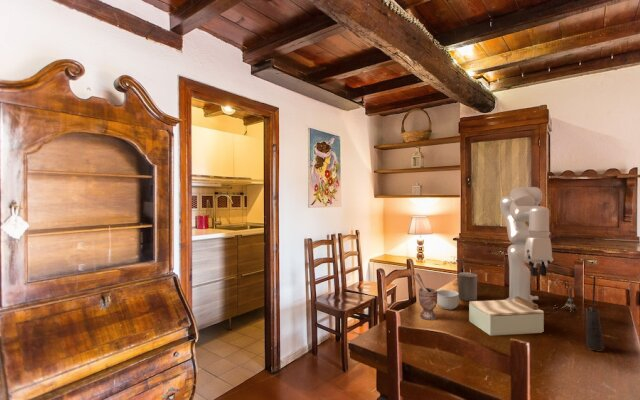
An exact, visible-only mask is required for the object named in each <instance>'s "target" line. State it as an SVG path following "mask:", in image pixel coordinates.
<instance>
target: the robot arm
mask: <svg viewBox="0 0 640 400" xmlns="http://www.w3.org/2000/svg"><path fill="white" fill-rule="evenodd" d="M542 200H543V192H542V190H541V189H540V188H539V187H537V186H522V187H521V186H519V187H514V188H513V189H511V191H510V193H509V195H505V196H503V197H501V198H500V199H499V207H500V208H499V210H500V212H501V215H502V217H503V219H504V221H505V224H506V231H507V237H508V241H509V242H510V243H512V244H511V245H509V246H508V247H507V256H508V257H507V258H508V267H509V272H508V273H509V279H508V281H509V283H508V284H509V287H508V288H509V289H508V290H509V292H508V293H509V294H508V295H509V296H508V297H507V298H505V300H514V299H515V297H521V298H523V299H525V300H528V301H530V302H532V303H534V300H535V301H537V300H539V296H538V295H531V276H532V277H538V267H537V264H540V265H539V276H543V277H547V268H548V267H549V264H550V263H552V262H554V258H553V249H552V248H553V247H552V242H551V238H550V236H551V233H552V232H551V231H550V209H549V208H548V207H546V206H543V205H539V204H540V203H541V202H542ZM525 223H528V226H526V225H525ZM526 263H527V265H528V266H529V267H530V268H528V266H527V265H526Z"/></svg>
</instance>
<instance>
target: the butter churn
mask: <svg viewBox="0 0 640 400" xmlns="http://www.w3.org/2000/svg"><path fill="white" fill-rule="evenodd" d="M592 282H593V283H592V284H593V285H592V306H589V307H588V308H586V309H585V330H586V332H585V333H586V334H585V337H586V340H585V341H586V345H587V347H589V348H591V349H595V350H603V349H604V350H605V347H604V340H603V339H604V338H603V333H602V323H601V316H600V310H597V309H595V297H596V296H595V294H596V292H595V291H596V276H594V275H593V281H592ZM587 347H586V348H587Z"/></svg>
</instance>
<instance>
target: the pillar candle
mask: <svg viewBox="0 0 640 400" xmlns="http://www.w3.org/2000/svg"><path fill="white" fill-rule="evenodd" d="M457 280H458V281H457V282H458V283H457V285H458V286H457V289H458V291H457V292H458V293H459V300H461V301H463V302H469V301H478V274H476V273H472V272H467V271H466V272H458V276H457Z"/></svg>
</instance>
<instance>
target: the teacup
mask: <svg viewBox="0 0 640 400" xmlns="http://www.w3.org/2000/svg"><path fill="white" fill-rule="evenodd" d="M459 301H460V299H459V293H458V291H455V290H453V289H452V290H451V289H443V288H442V289H440V288H439V289H438V290H437V305H438V306H439V307H440V308H442V309H444V310H448V311H449V310H454V309H456V308H457V307H458V306H459Z"/></svg>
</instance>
